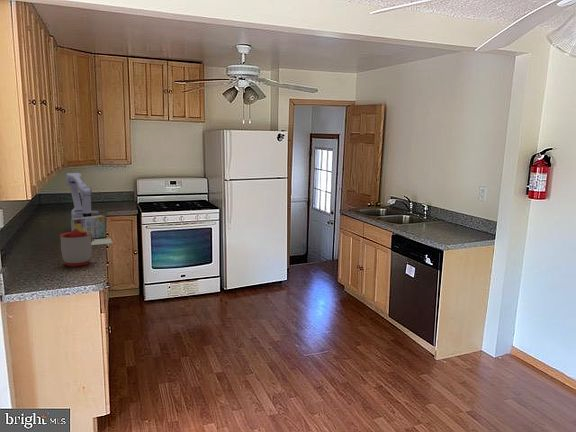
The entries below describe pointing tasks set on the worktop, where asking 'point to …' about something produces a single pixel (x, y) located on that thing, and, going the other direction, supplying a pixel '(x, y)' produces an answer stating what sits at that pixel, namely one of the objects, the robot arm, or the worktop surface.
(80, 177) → the robot arm
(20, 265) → the worktop surface
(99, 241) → the mat
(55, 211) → the worktop surface
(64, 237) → the citrus juicer
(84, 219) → the snack box
